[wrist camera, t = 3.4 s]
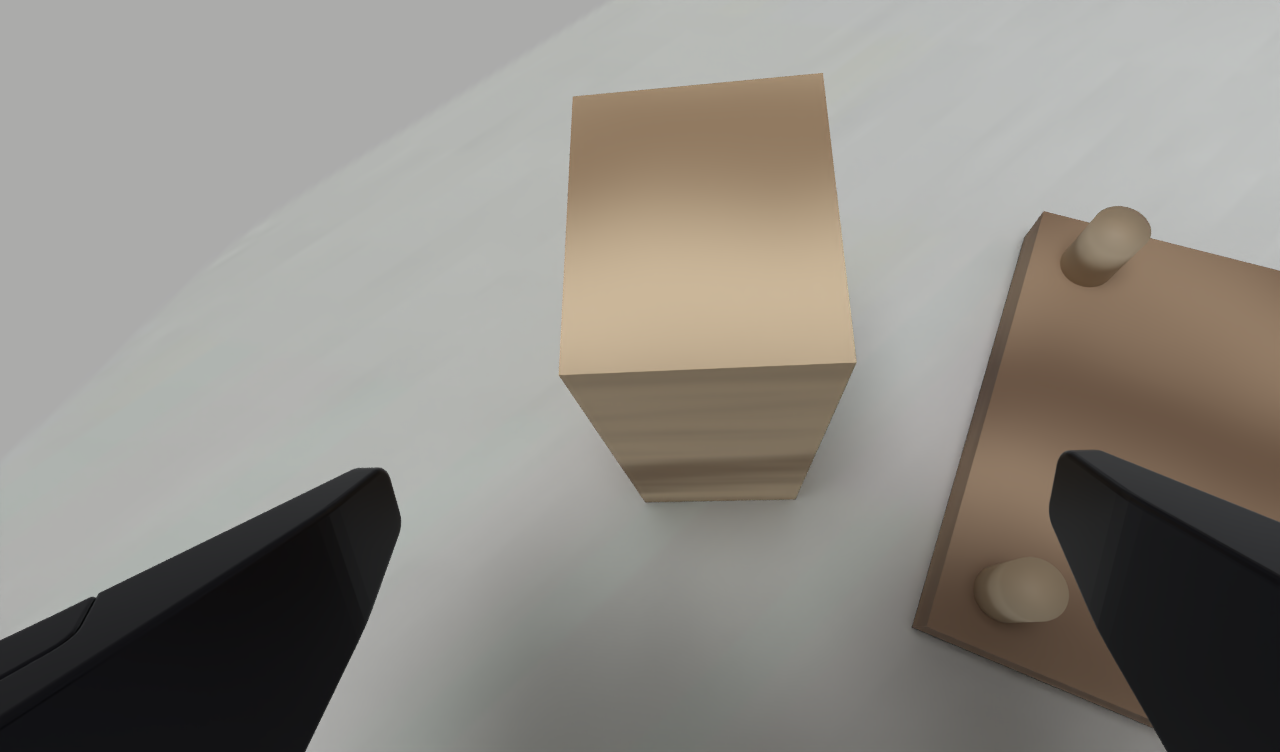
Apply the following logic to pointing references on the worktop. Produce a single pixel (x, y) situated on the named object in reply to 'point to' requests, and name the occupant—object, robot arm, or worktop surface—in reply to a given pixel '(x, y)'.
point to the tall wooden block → (706, 285)
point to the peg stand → (1100, 429)
